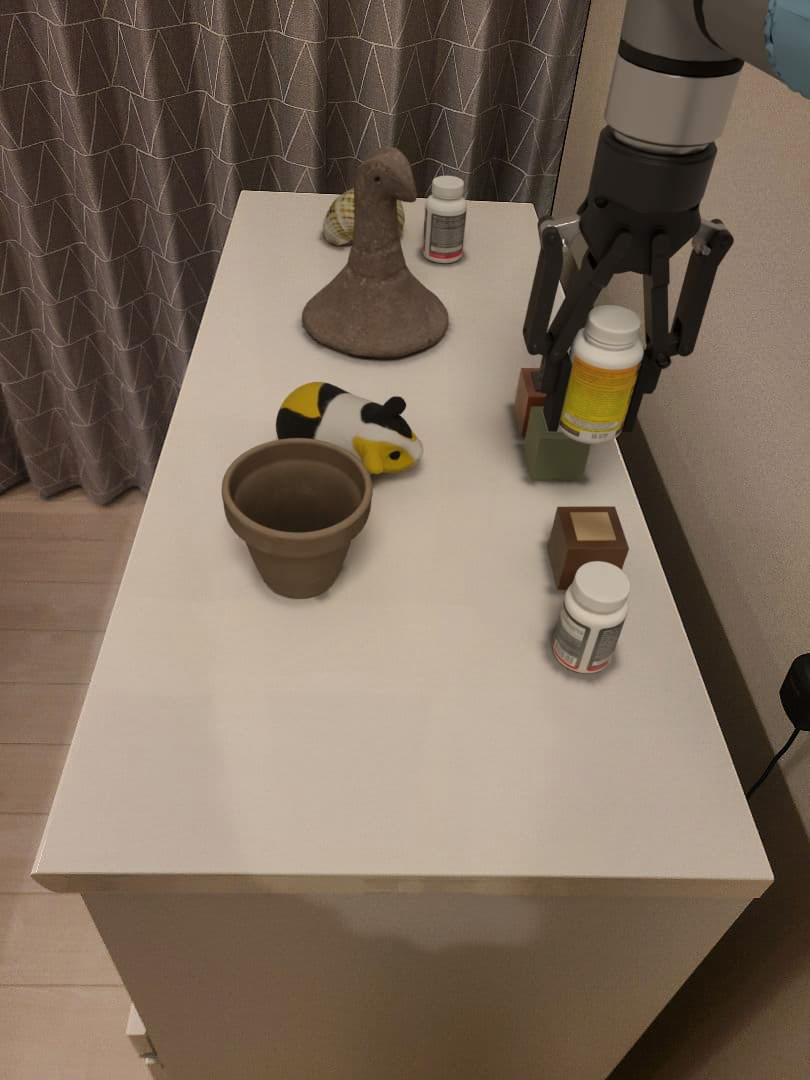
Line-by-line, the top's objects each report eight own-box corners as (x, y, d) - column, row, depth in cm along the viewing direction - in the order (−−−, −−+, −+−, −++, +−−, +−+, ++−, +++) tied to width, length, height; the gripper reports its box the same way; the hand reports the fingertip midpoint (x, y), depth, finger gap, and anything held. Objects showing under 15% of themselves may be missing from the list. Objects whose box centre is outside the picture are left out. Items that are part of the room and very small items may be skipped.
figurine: (399, 512, 76) (403, 443, 70) (260, 460, 80) (253, 391, 75) (437, 461, 81) (444, 393, 76) (304, 415, 86) (301, 347, 80)
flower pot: (397, 560, 72) (402, 471, 65) (316, 647, 65) (312, 558, 58) (291, 506, 76) (285, 417, 69) (205, 582, 69) (188, 492, 62)
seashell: (305, 235, 112) (324, 157, 108) (349, 246, 120) (368, 173, 116) (363, 256, 107) (385, 175, 104) (404, 266, 115) (426, 191, 112)
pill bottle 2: (610, 631, 67) (635, 561, 61) (612, 679, 64) (638, 609, 58) (551, 623, 68) (571, 552, 62) (550, 670, 64) (570, 600, 58)
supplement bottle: (628, 447, 68) (661, 337, 61) (561, 448, 68) (587, 337, 60) (611, 406, 72) (640, 298, 65) (548, 407, 71) (570, 298, 64)
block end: (569, 437, 85) (579, 395, 81) (521, 437, 85) (528, 395, 81) (560, 407, 89) (569, 366, 85) (513, 407, 88) (520, 366, 85)
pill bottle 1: (470, 257, 111) (478, 183, 104) (440, 268, 109) (447, 194, 102) (443, 242, 114) (449, 169, 107) (413, 252, 112) (417, 179, 105)
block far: (582, 479, 80) (593, 437, 77) (531, 479, 80) (539, 437, 76) (572, 446, 84) (582, 405, 80) (523, 446, 84) (531, 404, 80)
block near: (615, 589, 71) (629, 547, 67) (557, 589, 70) (568, 547, 67) (602, 547, 74) (615, 504, 70) (547, 547, 74) (557, 504, 70)
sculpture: (427, 374, 92) (441, 194, 77) (282, 347, 94) (270, 167, 80) (460, 300, 103) (477, 131, 89) (330, 278, 106) (327, 109, 92)
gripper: (779, 115, 57) (682, 395, 73) (508, 106, 55) (472, 394, 72) (823, 159, 51) (708, 450, 68) (525, 150, 50) (482, 450, 67)
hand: (587, 421), depth 70 cm, fingers closed on supplement bottle, 6 cm apart
